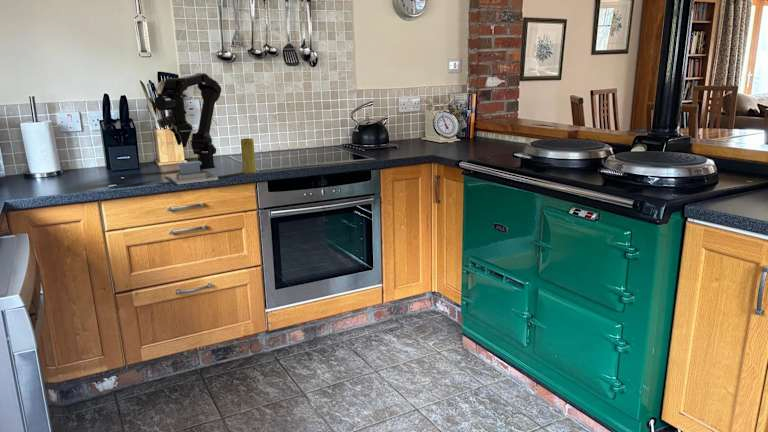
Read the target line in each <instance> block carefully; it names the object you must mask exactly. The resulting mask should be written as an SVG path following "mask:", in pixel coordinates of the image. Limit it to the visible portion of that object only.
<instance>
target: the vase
mask: <svg viewBox="0 0 768 432" xmlns="http://www.w3.org/2000/svg"><path fill="white" fill-rule="evenodd" d="M254 142H255V141H254V138H241V139H240V148H241V165H242V169H241V170H242V173H243V174H255V173H257V171H258V170H257V165H256V161H257V160H256V153H255V144H254Z"/></svg>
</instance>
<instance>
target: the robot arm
mask: <svg viewBox="0 0 768 432" xmlns="http://www.w3.org/2000/svg"><path fill="white" fill-rule="evenodd" d="M192 86H197V89H198V90H200V96H201V98H202V107H201V110H200V119H199V125H198V129H197V131H196V132H193V133H192V131H193V125H192V124H191V123H190V122H188V120H187V116H186V114H187V111H186V109H185V99H184V98H186V97H187V95H186V93H184V92H185V91H187V90H188V89H189V87H192ZM221 93H222V87H221V85H220V84H219V83H218V81H216V80H215V79H214V78H212V77H210V76H209V75H208V74H207V73H205V72H204V73H202V72H201V73H196V74H193V75H188V76H184V77H168V78H166V79H165V82H164V84H163V86H162V89H161V93H157V97H156V98H155V100H154V106H155V108H156V110H158V111H161V112H162V111H163V112H164V111H168V115H165V116H164V117H161V118H159V119H157V120H156V122H157V124H158V126H159V128H161V129H163V128H166V127H167V128H168V130H169V131H171V132H172V134H173V136H174V138H175V141H176V143H177V145H178V146H180V145H181V146H182V148H186V147H187V146H188V141H189V138H190V136H191V140H190V146H191V150H192V151H193V155H197V157H196V161H200V162H202V165H200V170H205V169H211V168H212V169H213V168H216V165H215V163H214V162H215V161H214V155H215V154H216V153H217V148H216V147H215V146H214V144H213V138H212V136H211V134H210V132H211V127H212V121H213V116H214V115H213V114H214V109H215V104H216V102H217V101H218V100H219V99H220V96H221ZM191 134H192V135H191Z"/></svg>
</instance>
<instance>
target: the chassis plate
mask: <svg viewBox="0 0 768 432" xmlns="http://www.w3.org/2000/svg"><path fill="white" fill-rule="evenodd" d="M165 175H166V176H165V177H166V178H168V179H169V180H170V179H171V180H170V181H172V182H173V181H174V182H173V183H175V184H176V185H187V184H193V183H201V182H202V183H203V182H210V181H218V180H219V177H218V176H217V175H215V174H213V173H211V172H209V171H207V170H205V169H200V173H195V174H187V175H181V174H180V172H175V173H169V174H165Z"/></svg>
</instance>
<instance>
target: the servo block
mask: <svg viewBox="0 0 768 432" xmlns="http://www.w3.org/2000/svg"><path fill="white" fill-rule="evenodd" d="M200 165H202V162H200V161H197V160H195V161H194V160H193V161H183V160H182V161H181V162H176V166H177V167H178V168H179V173H180V174H181V175H187V174H195V173H200V170H201V168H200Z"/></svg>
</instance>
